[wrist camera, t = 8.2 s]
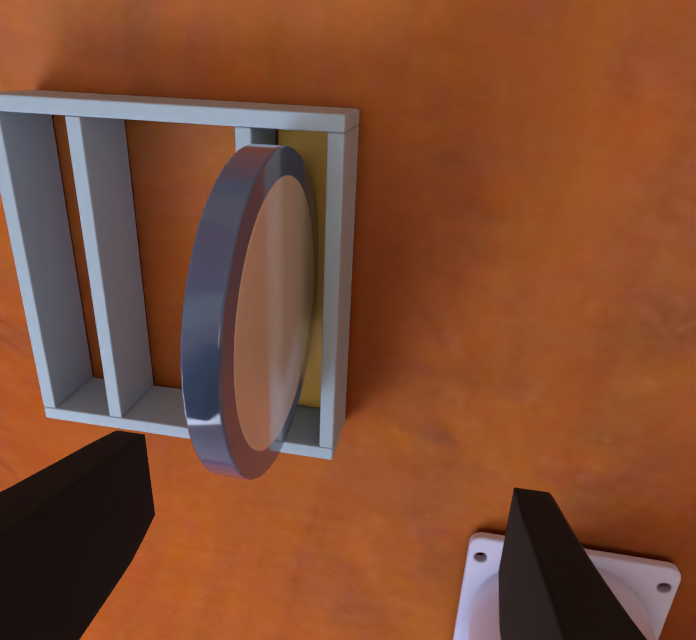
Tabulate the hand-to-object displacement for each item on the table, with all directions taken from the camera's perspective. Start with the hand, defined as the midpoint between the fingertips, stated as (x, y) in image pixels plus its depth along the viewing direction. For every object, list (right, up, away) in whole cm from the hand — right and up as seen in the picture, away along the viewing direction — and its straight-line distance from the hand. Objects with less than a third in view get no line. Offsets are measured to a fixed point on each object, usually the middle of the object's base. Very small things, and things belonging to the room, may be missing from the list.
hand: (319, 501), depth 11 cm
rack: (-5, +5, +10) cm, 12 cm away
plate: (-1, +5, +9) cm, 11 cm away
